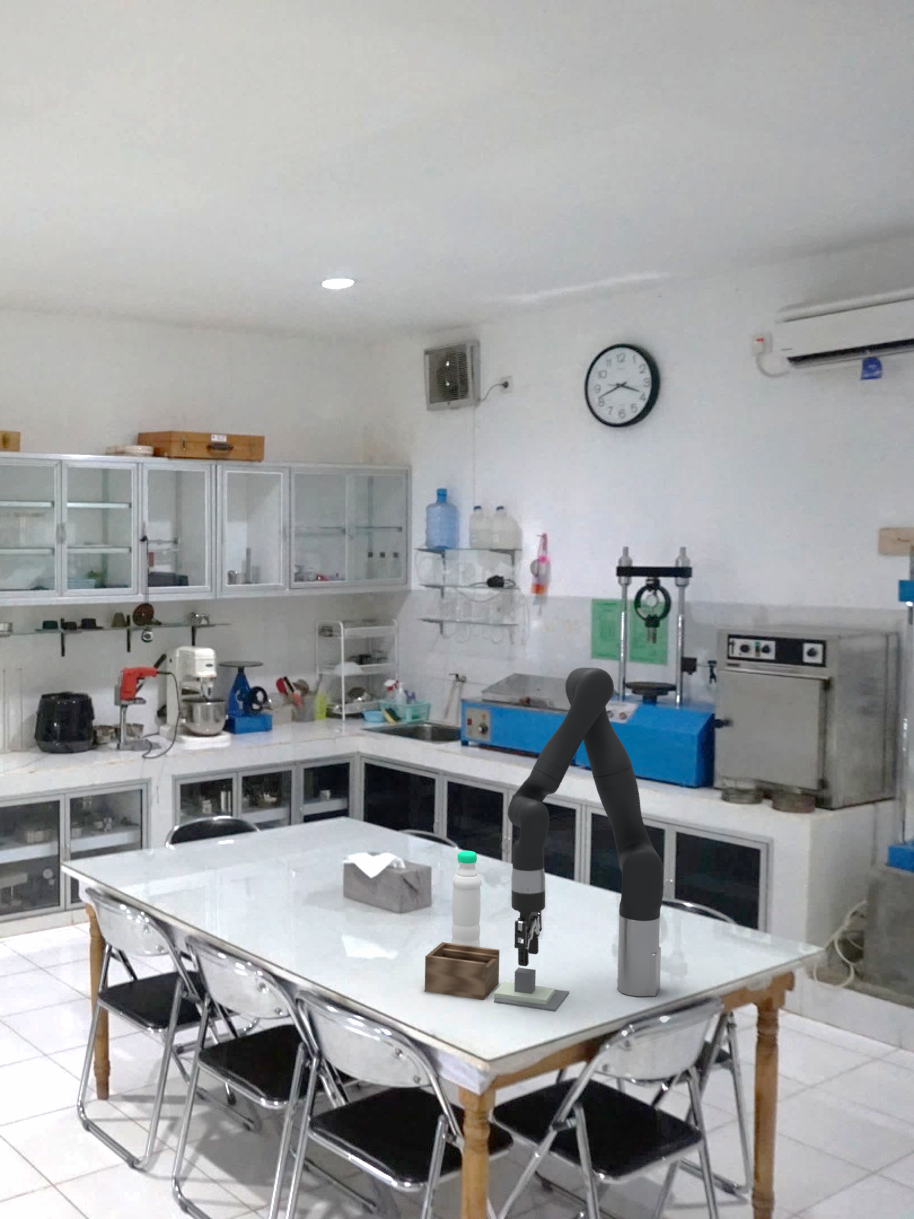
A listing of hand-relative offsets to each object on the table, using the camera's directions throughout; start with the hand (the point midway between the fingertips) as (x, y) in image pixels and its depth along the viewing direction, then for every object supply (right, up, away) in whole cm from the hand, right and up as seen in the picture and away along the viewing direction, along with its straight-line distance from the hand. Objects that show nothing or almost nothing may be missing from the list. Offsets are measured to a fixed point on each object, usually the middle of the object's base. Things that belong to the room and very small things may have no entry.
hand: (528, 959), depth 272 cm
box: (-15, -8, +6) cm, 18 cm away
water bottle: (-14, -7, +31) cm, 35 cm away
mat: (+1, -9, 0) cm, 9 cm away
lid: (-1, -8, +1) cm, 8 cm away
